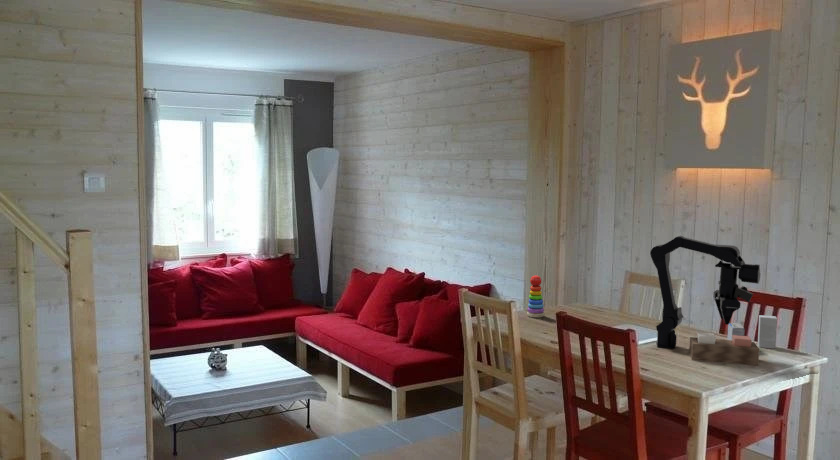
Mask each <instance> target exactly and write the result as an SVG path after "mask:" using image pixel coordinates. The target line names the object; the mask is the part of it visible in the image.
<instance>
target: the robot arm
mask: <svg viewBox="0 0 840 460" xmlns="http://www.w3.org/2000/svg"><path fill="white" fill-rule="evenodd" d="M679 248H683V249H687V250H689V251H690V250H691V251H695V252H698V253H701V254H702V253H703V254H706V255H710V256H712V257H714V258H715V259H719V261H718V263H716V264H715V265H714V267H715V268H720V273H719V274H720V275H719V280H718V283H717V284H718V289H716V290H714V292H713V300H714V303H715V305H716V309H717V310H718V314H719V317H720V319H722V320H723V321H724V324H725V325H727V326H728V324H729V323H730V322H731V319H732V317H733V313H734V312H736V311H737V310H739V309H741V304H742V302H740V301H739V299H742V300H744V301H745V302H747V303H750V301H751V300H752V298H753V296H754V293H752V292H751V291H748V287H746V286H744V285H742V286H740V287H739V284H738V282H737V281H738V279H739V280H740V282H743V283H748V284H760V280H761V268H760V267H761V266H760V264H755V263H754V264H750V263H746V262H745V261H744V259H743V258H742V256H741V251H740V249H739V247H737V246H736V245H730V244H729V245H728V244H714V243H710V242H706V241H702V240H697V239H692V238H688V237H685V236H682V235H678V236H675V237H673V239H671V240H669V241H667V242H666V243H663V244H658V245H655V246H653V247H652V249H650V253H649V255H650V258H651V260H652V263H653V265H654V266H655V269H656V272H657V275H658V276H657V277H658V280H659V288H660V293H661V294H660V295H661V299H662V305H663V306H662V319H661V320H662V321H661V322H659V323H658V324H657V325H656V326H655V328H656V333H657V334H656V336H657V337H656V347H657V348H665V349H676V346H677V338H678V337H677V334H676V331H675V330H676V328H677V327H678V326H680V325H681V323H683V322H682V321H683V318H684V315H683V312H682V311H683V310H682V307H678V305H677V304H676V302H675V301H676V300H675V295H674V291H673V289H674V288H673V283H672V279H671V273H670V261H671V254H670V253H672V252H674V251H676V250H677V249H679ZM738 298H739V299H738Z"/></svg>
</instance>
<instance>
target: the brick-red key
mask: <svg viewBox="0 0 840 460" xmlns="http://www.w3.org/2000/svg"><path fill="white" fill-rule="evenodd" d="M751 342H753V340H752V338H751V336H749V335H744V336H738V335H733V336H732V344H733V346H743V347H751Z"/></svg>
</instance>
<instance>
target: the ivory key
mask: <svg viewBox="0 0 840 460" xmlns="http://www.w3.org/2000/svg"><path fill="white" fill-rule="evenodd" d="M696 336H697V337H696V338H697V342H698V343H705V344H715V339H716V336H715V334H714V333H712V332H711V333H710V332H697V335H696Z"/></svg>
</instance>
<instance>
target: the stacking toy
mask: <svg viewBox="0 0 840 460" xmlns="http://www.w3.org/2000/svg"><path fill="white" fill-rule="evenodd" d="M529 281H530V284H531V286H530V291H529V296H528V298H529V299H528V305H527V306H528V307H527V312H526V315H527V317H530V318H543V317H544V316H545V309H544V300H543V295H542V294H543V292H542V286H541V284H542V278H541V276H539V275H533V276H531V277H530V280H529Z"/></svg>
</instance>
